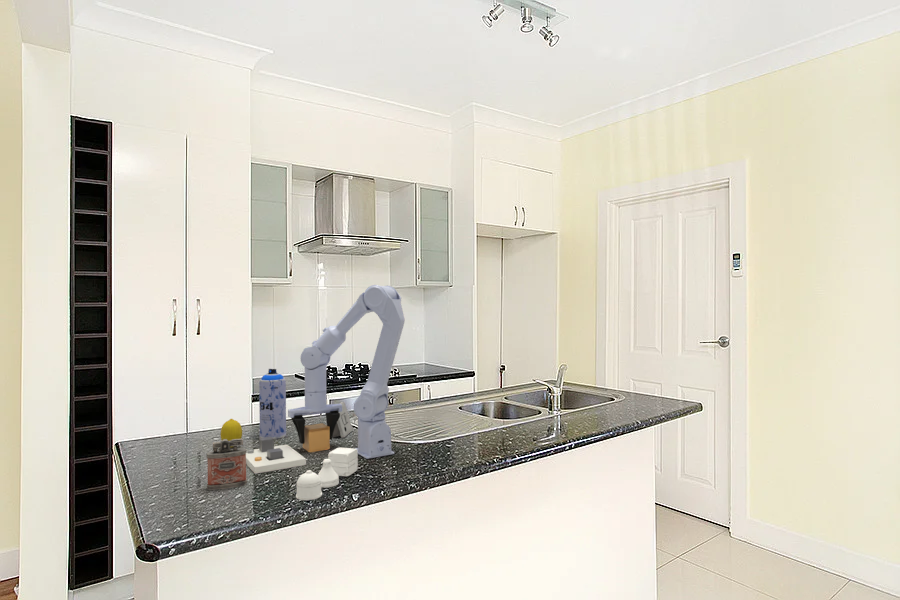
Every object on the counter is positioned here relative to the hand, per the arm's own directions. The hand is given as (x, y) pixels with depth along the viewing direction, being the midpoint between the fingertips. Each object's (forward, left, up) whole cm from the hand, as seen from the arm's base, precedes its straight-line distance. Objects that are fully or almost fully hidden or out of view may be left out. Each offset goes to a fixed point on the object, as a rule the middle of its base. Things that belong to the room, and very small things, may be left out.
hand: (315, 440), depth 146 cm
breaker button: (-8, +13, -2) cm, 15 cm away
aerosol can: (+21, +6, -2) cm, 22 cm away
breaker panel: (-5, +13, -2) cm, 14 cm away
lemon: (+14, +19, -2) cm, 24 cm away
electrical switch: (+11, -11, -2) cm, 16 cm away
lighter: (-18, +26, -2) cm, 32 cm away
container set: (-29, +7, -3) cm, 30 cm away
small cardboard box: (0, 0, -2) cm, 2 cm away
